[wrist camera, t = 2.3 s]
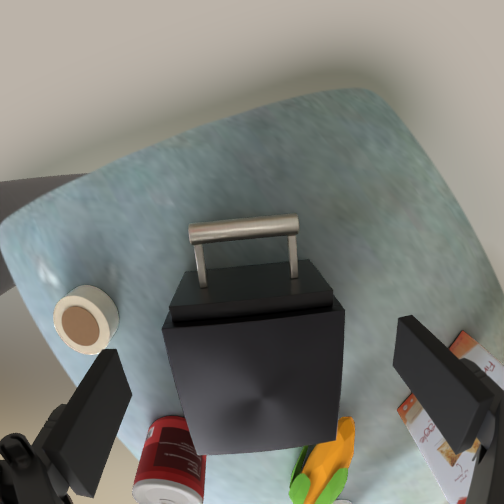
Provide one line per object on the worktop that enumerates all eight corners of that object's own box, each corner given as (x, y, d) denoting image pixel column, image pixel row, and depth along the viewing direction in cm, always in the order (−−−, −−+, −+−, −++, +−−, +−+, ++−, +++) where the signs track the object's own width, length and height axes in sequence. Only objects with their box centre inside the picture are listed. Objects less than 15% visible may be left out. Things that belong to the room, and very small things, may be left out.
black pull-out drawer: (177, 217, 28) (155, 235, 20) (306, 204, 28) (331, 218, 20) (205, 381, 32) (199, 432, 25) (311, 370, 32) (328, 419, 25)
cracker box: (459, 327, 34) (565, 422, 13) (479, 343, 35) (572, 429, 14) (392, 409, 36) (459, 527, 16) (417, 419, 37) (481, 522, 17)
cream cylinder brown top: (75, 341, 31) (64, 354, 28) (59, 286, 30) (45, 297, 27) (125, 340, 32) (117, 355, 29) (111, 282, 30) (99, 294, 27)
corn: (287, 526, 32) (324, 446, 27) (278, 488, 39) (306, 400, 34) (335, 519, 33) (386, 436, 28) (323, 484, 40) (361, 396, 35)
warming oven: (182, 281, 30) (161, 328, 21) (313, 268, 30) (345, 309, 21) (204, 393, 34) (197, 455, 24) (315, 381, 34) (336, 440, 25)
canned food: (160, 454, 36) (147, 516, 26) (140, 414, 34) (118, 481, 24) (214, 451, 36) (211, 517, 26) (198, 411, 34) (190, 483, 24)
